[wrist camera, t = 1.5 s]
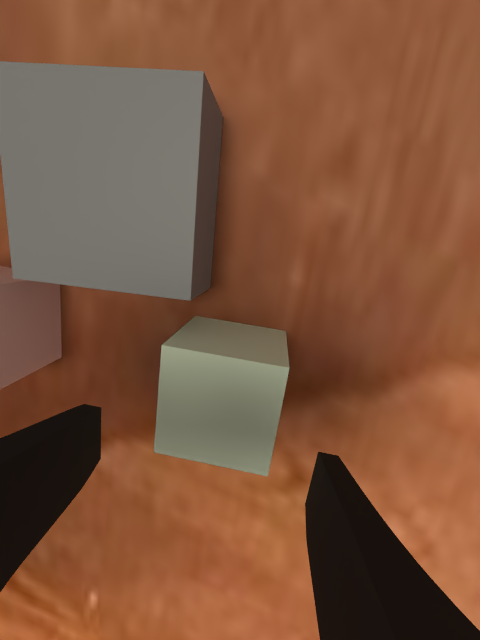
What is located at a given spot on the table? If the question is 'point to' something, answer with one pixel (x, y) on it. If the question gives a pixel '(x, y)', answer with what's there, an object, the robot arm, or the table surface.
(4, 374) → the rose cube
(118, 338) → the table surface
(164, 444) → the sage cube
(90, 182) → the base block
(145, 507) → the table surface
